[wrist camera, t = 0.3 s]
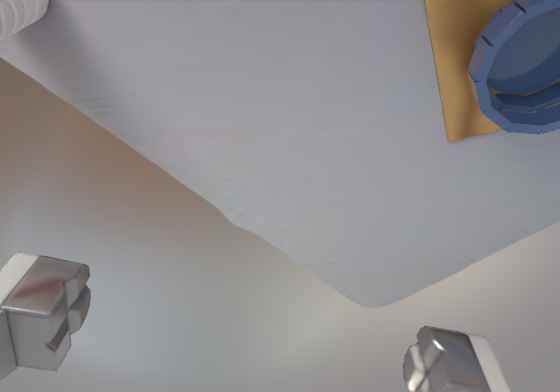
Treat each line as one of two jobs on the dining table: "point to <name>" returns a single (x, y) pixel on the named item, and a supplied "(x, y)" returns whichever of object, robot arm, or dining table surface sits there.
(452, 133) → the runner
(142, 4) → the dining table surface
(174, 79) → the dining table surface
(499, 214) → the dining table surface
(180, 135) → the dining table surface
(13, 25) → the water bottle
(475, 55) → the bowl
